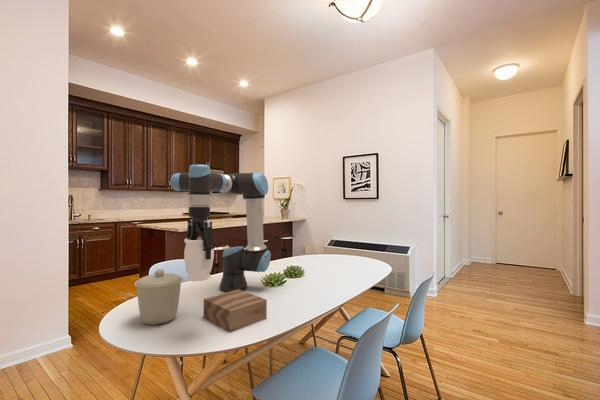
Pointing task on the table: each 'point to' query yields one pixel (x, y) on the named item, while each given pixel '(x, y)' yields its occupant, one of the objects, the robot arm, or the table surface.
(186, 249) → the jar
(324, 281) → the table surface
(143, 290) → the canister
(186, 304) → the table surface
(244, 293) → the walnut box
